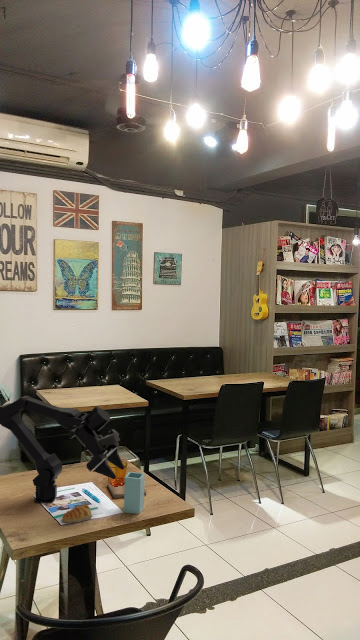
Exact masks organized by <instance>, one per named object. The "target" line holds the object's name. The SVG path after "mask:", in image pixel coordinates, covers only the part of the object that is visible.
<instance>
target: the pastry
mask: <svg viewBox="0 0 360 640" xmlns="http://www.w3.org/2000/svg"><path fill="white" fill-rule="evenodd" d="M92 517H93V513H92V510H91V508H90V506H89V505H88V504H83V505H79V506H74V507H72V508H71V509H70V510H67V511H66V512H65V513H63V515H62V518H61V521H62V522H64V523H66V524H72V523H80V522H85V521H88V520H91V519H92Z"/></svg>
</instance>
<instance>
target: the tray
mask: <svg viewBox="0 0 360 640" xmlns="http://www.w3.org/2000/svg"><path fill="white" fill-rule="evenodd" d="M107 488H108V490H109V492H110V494H111V496H112V498H113V500H117V499H124V490H125V482H124V485H123V486H118V487H114V486H111V484H110V483H109V482H107ZM145 496H147V491H146V489H145V488H144V497H145Z"/></svg>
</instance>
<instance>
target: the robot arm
mask: <svg viewBox="0 0 360 640" xmlns="http://www.w3.org/2000/svg"><path fill="white" fill-rule="evenodd" d="M23 410H26V411H29V412H32V413H34V414H37V415H40V416H43V417H46V418H49V419H51V420H53V421H55V423H56V424H57V425H59V426H61V427H62V428H64V429H66V430H67V429H68V430H69V437H68V439H69V440H71V439H73V438H74V437H76V438H77V440H78V441H79V442H80V444H82V445H83V446H84V447H83V450H84V452H87V451H88V453H90V454H91V456H92V457H91V459H90V460H89V461H87V463H86V469H87V470H88V471H89V473H90V472H93V473H97V474H100V475H101V476H105V477H108V478H110V479H112V480H116V479H117V475H116V473H115V472H114V471H113V469H112V468H111V466H110V465H109V463H111V464H112V465H114V466H115V467H117V468H119V469H120V470H124V469H125V465H124V463H123V460H122V459H121V457H120V455H119V450H120V443H119V442H120V441H121V439H120V437H119V436H120V433H119V432H118V431H117V430H115V429H114V428H113V429H110V430H109V431H108V433H107V435H105V436H103V435H102V434H97V433H96V432H99V431H100V430H101V429H102V428H104V427H105V426H106V424H108V423H109V422H110V421H111V416H110V414H109V413H108V412H107V410H104V409H103V408H101V407H99V405H96V406H95V407H94V408H92V409H91V411H90V412H89V413H85V412H81V411H80V410H79V409H78V408H73V407H60V406H56V405H53V404H51V403H49V402H45V401H41V400H39V399H36V398H33V397H32V396H30V395H24V396H22V397H19V398H18V399H17V400H15V401H13V402H9V403H6V404H3V405H0V425H1V427H4V428H6V429H7V430H9V431H11V433H12V434H13V435H14V437H15V439H17V441H18V442H19V443H20V444H21V446H22V447H23V448H24V450H25V452H26V453H27V454H28V455H29V456H30V458H31V459H32V460H33V462H34V464H35V470H36V472H37V474H38V475H36V476H35V477H34V478H33V479H32V484H33V486H34V487H35V498H34V501H33V502H34V503H45V504H46V503H48V504H51V503H52V504H53V503H54V501H55V499H57V496H58V485H57V484H56V480H57V479H58V476H60V474H62V472H63V464H62V460H61V459H59V457H58V456H57V454H56V453H54V452H52V454H50V453H48V452H47V451H46V450H45V449H44V448H43V446H42V445H41V444H40V442H39V441H38V440H37V439H36V437H35V436H34V435H33V433H32V432H31V431H30V429H28V427H27V426H26V425H25V424H24V422H23V420H22V415H21V411H23ZM84 422H85V423H84ZM74 427H75V428H74ZM73 428H74V429H73ZM70 429H71V430H70ZM108 462H109V463H108Z"/></svg>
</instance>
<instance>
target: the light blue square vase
mask: <svg viewBox="0 0 360 640" xmlns="http://www.w3.org/2000/svg"><path fill="white" fill-rule="evenodd" d="M145 478H146V477H145V473H144V472H135V471H129V472H128V473H127V474H126V475H125V477H124V481H125V490H124V498H123V499H124V500H123V501H124V503H123V513H128V514H137V515H140V514H141V513H142V511H143V509H144V508H145V496H144V489H145V480H146V479H145Z"/></svg>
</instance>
